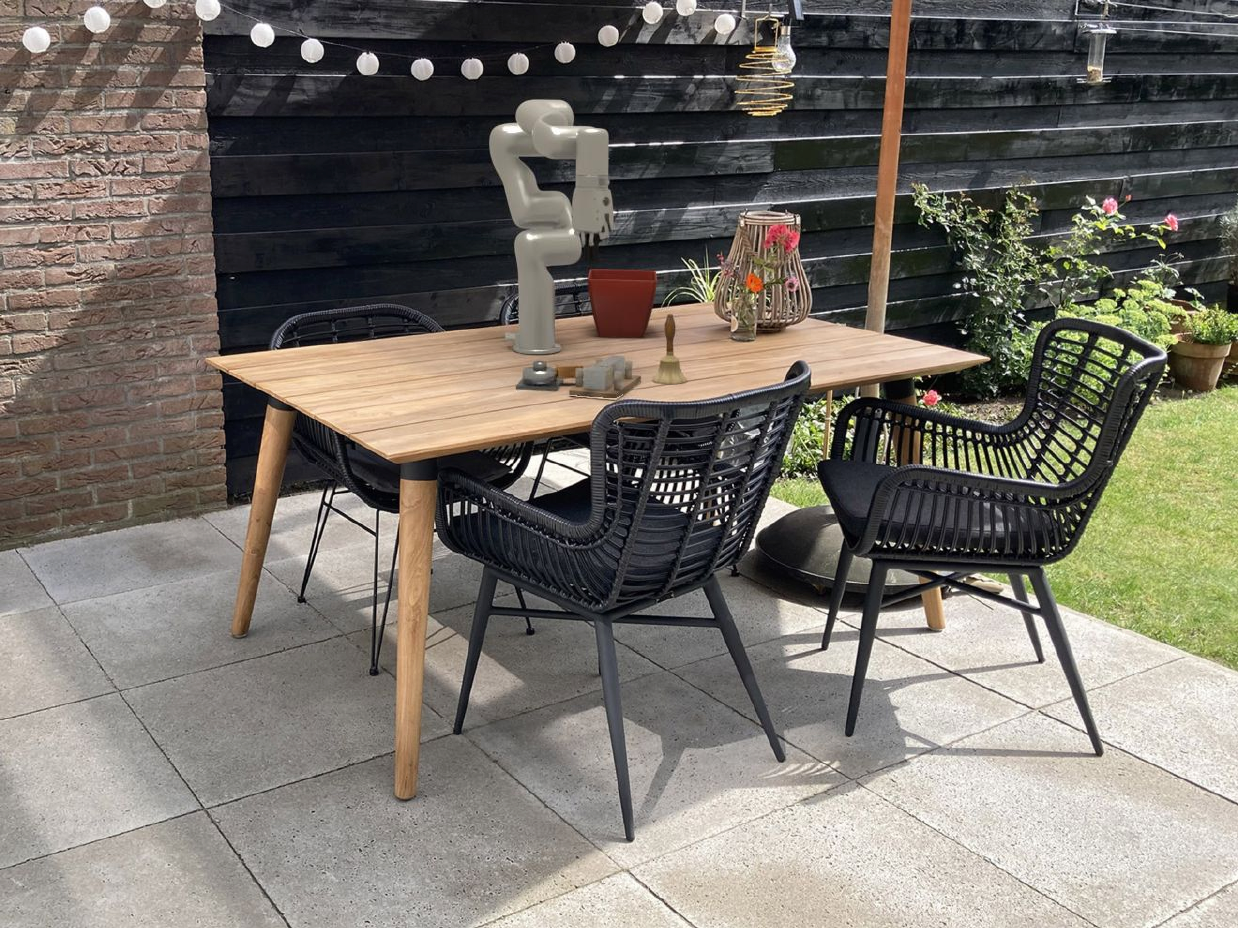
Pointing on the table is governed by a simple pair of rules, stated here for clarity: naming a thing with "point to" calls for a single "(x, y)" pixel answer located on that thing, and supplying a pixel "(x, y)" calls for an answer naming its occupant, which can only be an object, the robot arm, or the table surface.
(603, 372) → the grey joined blocks
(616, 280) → the plant pot
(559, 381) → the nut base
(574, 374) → the domed call bell
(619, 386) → the rack
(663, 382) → the hand bell
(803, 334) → the table surface
